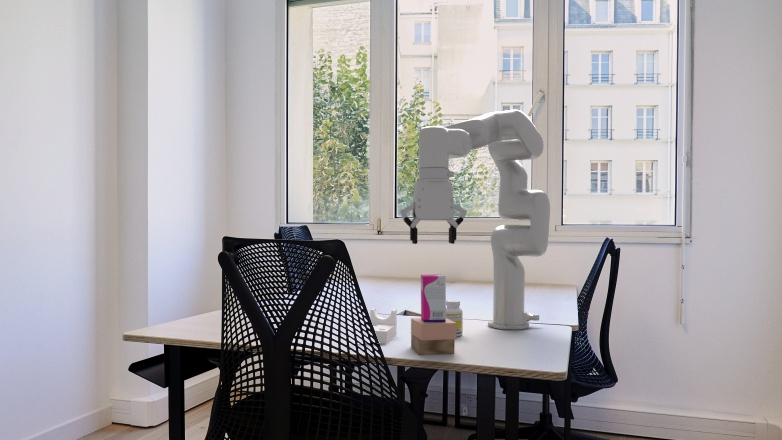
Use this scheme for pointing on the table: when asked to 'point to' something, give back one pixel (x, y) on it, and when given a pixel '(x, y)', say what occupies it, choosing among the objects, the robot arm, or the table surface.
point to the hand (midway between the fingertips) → (433, 243)
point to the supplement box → (433, 298)
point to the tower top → (433, 329)
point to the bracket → (384, 325)
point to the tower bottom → (432, 346)
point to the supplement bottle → (455, 315)
